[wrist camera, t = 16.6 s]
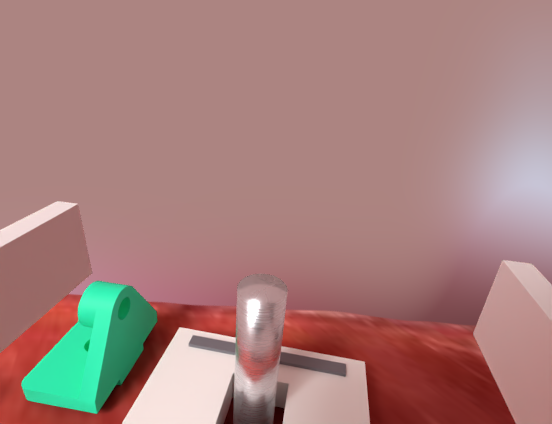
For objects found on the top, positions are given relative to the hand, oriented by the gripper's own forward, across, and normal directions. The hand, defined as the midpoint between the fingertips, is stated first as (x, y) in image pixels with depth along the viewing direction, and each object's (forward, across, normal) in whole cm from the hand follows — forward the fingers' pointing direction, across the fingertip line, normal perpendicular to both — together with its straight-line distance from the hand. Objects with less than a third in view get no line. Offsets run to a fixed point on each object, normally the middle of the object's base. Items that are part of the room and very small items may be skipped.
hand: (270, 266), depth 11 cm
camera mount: (+14, -20, -25) cm, 35 cm away
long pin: (+10, -2, -25) cm, 27 cm away
